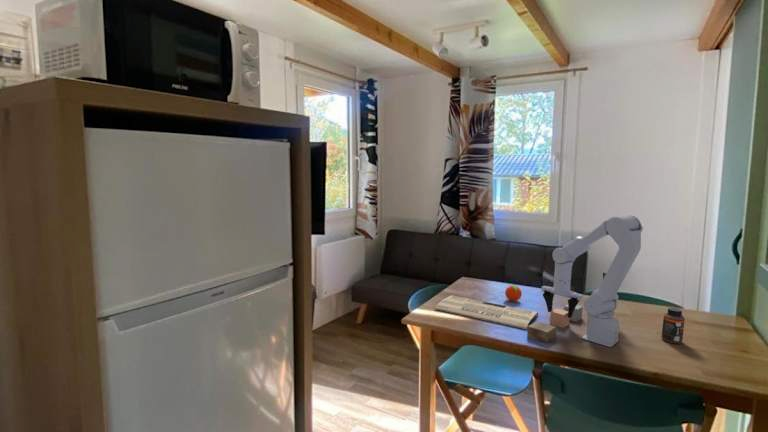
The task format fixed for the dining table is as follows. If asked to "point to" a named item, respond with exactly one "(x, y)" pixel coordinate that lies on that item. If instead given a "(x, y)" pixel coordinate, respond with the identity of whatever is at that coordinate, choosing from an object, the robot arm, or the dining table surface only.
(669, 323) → the supplement bottle
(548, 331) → the walnut block
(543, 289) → the robot arm
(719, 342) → the dining table surface
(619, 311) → the dining table surface
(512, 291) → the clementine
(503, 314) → the newspaper
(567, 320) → the terracotta cube
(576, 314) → the slate cube
